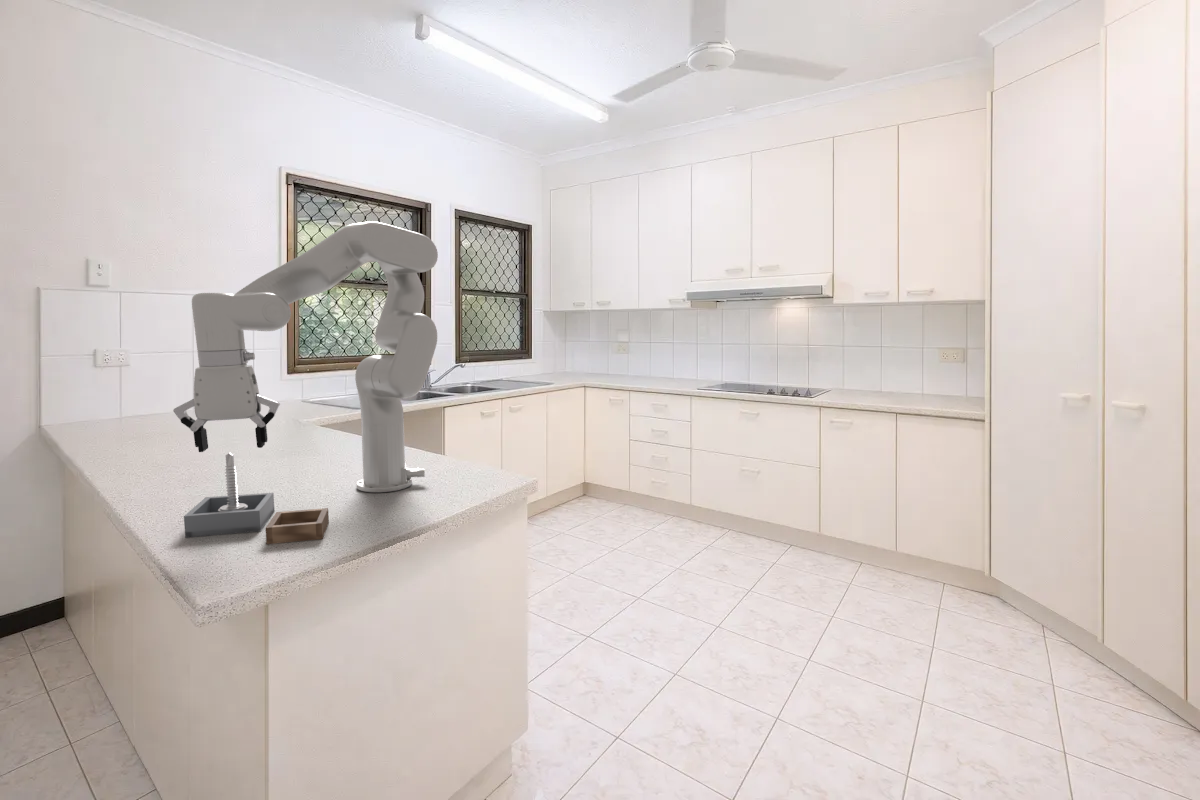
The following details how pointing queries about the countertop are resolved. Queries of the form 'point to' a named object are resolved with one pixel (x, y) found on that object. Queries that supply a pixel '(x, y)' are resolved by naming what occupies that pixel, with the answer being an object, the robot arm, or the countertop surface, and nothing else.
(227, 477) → the screw
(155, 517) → the countertop surface
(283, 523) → the frame
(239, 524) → the bin
